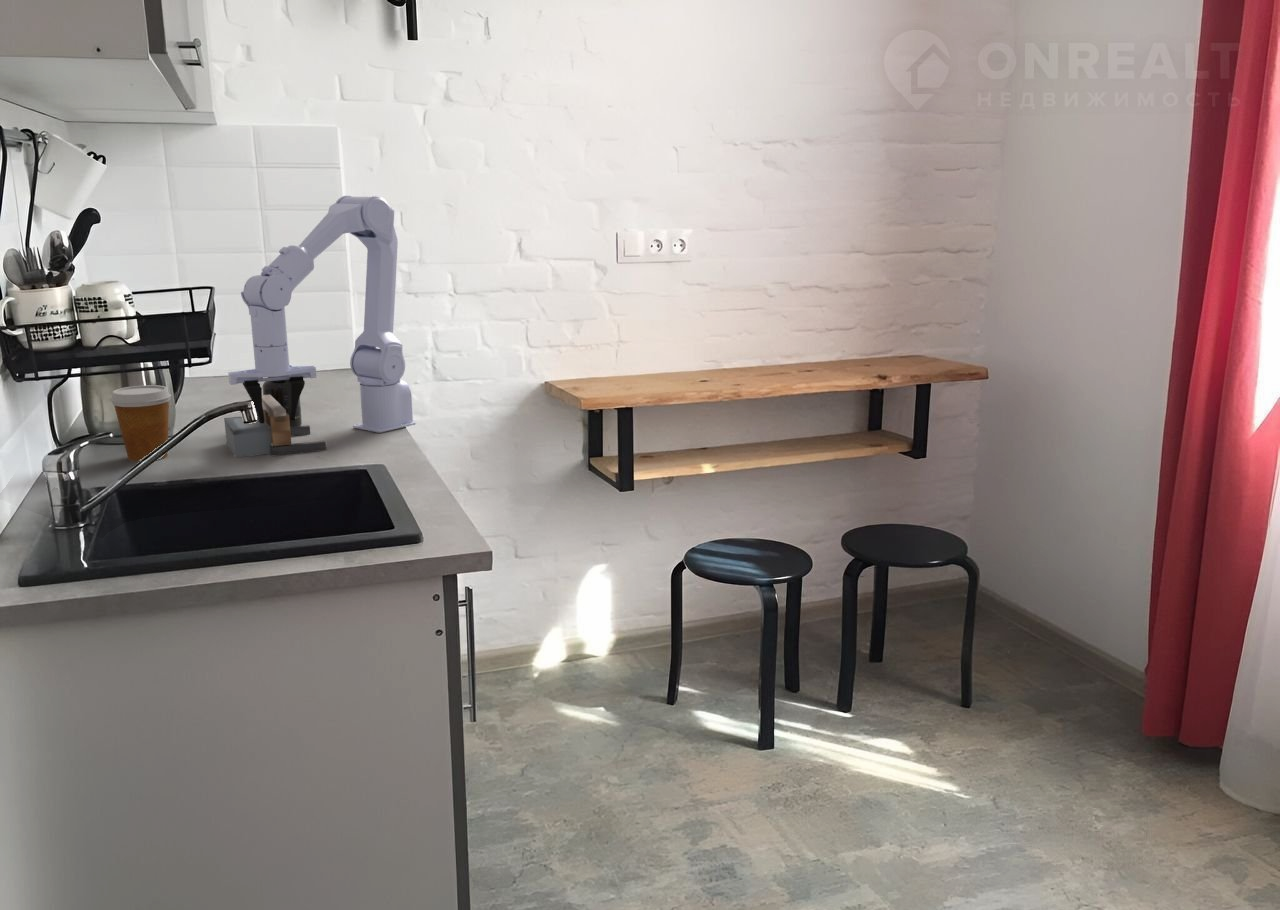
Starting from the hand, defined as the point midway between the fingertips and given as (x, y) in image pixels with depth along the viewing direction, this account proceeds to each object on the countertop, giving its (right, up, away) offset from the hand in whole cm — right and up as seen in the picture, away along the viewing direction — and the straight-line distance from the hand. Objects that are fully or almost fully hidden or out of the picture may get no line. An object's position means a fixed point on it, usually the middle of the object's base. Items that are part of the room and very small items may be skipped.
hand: (277, 420), depth 191 cm
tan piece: (-2, -4, +5) cm, 7 cm away
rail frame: (+1, -4, +6) cm, 7 cm away
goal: (-5, -5, +3) cm, 8 cm away
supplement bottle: (-5, -1, +20) cm, 20 cm away
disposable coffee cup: (-21, -7, -4) cm, 23 cm away
